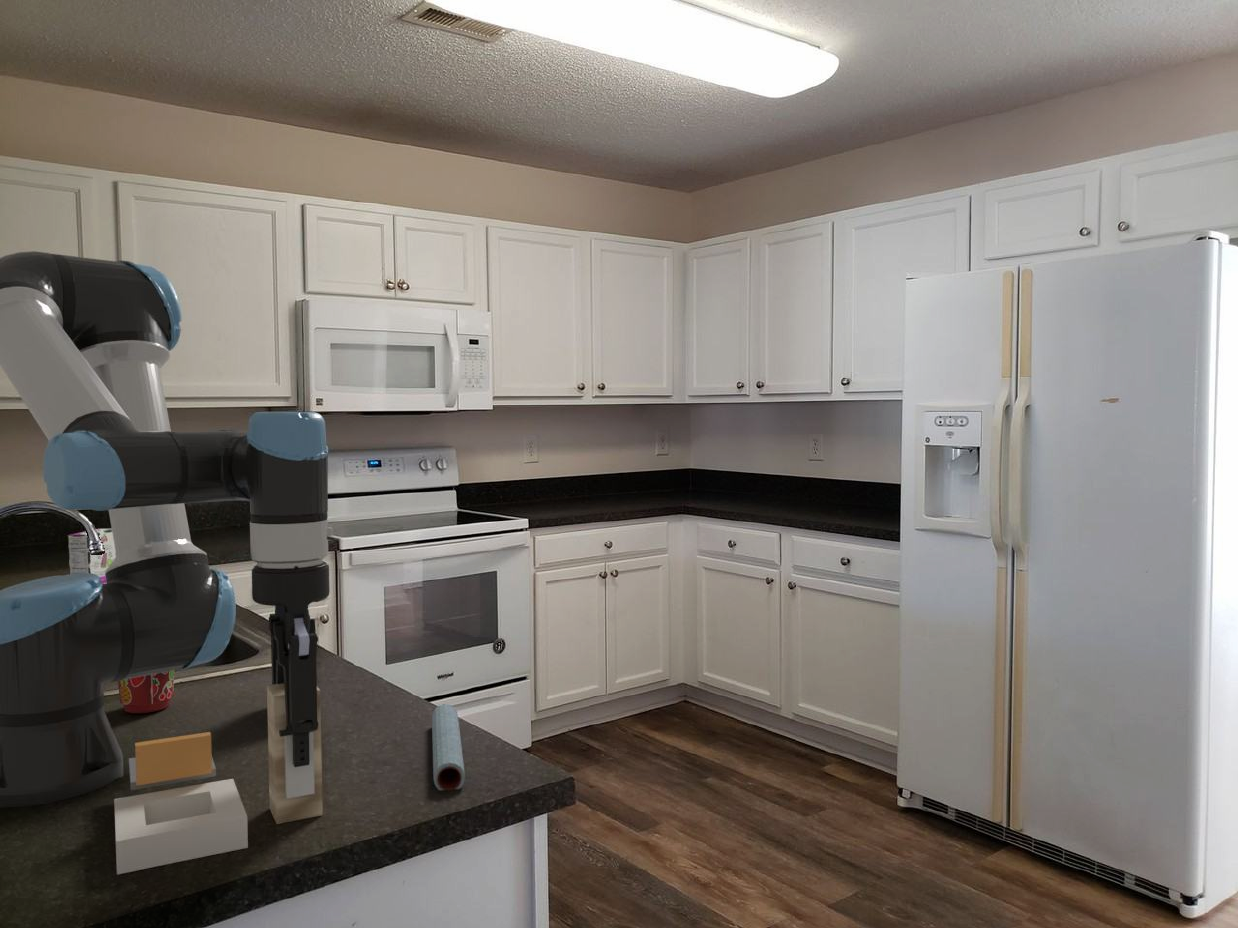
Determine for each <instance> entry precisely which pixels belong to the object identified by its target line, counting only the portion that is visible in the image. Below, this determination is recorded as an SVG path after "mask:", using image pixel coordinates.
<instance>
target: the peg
mask: <svg viewBox="0 0 1238 928" xmlns="http://www.w3.org/2000/svg"><path fill="white" fill-rule="evenodd" d="M266 692H267V693H266V697H267V698H266V699H267V700H266V707H267V743H268V744H267V749H268V750H267V751H268V785H269V786H268V789H269V791H268V793H269V795H268V796H269V810H270V812H271V814H272V817H273V820H274V822H275V824H276V825H279V824H284V823H289V822H295V821H300V820H305V819H309V818H314V817H315V818H316V817H319V816H323V815H324V814H323V811H324V810H323V807H324V806H323V767H322V765H323V763H322V761H323V759H322V722H321V721H322V717H321V716H322V715H321V713H322V712H321V711H322V710H321V709H322V708H321V689H320V688H319V687H318V686H317V721H318V729H317V730H315V731H313V742H314V791H315V794H310V795H304V796H299V797H293V798H288V799H287V798H286V796H285V750H284V736H282V737H280V735H279V730H284V729H286V727H287V724H286V706H285V689H284V683H283V684H274V685H272V684H269V685H266Z"/></svg>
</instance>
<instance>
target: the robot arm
mask: <svg viewBox="0 0 1238 928" xmlns="http://www.w3.org/2000/svg"><path fill="white" fill-rule="evenodd" d="M180 305H181V304H180V300H179V297H178V294H177V292H176V290H175V288H174V286H173V283H171V281H170V279H168V277H167V275H165V274H164V273H162V272H161V271H160V270H159V269H158V268H155V267H153V266H151V265H145V264H138V263H134V262H131V261H129V260H107V259H100V258H99V259H98V258H97V259H96V258H90V257H82V256H75V255H74V256H73V255H65V254H59V253H58V254H57V253H49V252H43V251H34V250H33V251H30V250H29V251H20V252H14V253H11V254H5V255H4V256H1V257H0V368H1V369H2V370H3V372H4V374H5V375H6V377H7V378H8V380H9V381H10V383H11V384H12V386H13V387H14V389H15V390H16V392H17V394H18V395H19V397H20V398H21V400H22V401H23V403H24V405H25V406H26V407H27V409H28V411H29V412H30V414H31V416H32V417H33V418H34V420H35V422H36V423H37V424H38V427H39V428H40V429H41V431H42V433H43V434H44V436H45V437H46V439H47V440H48V442H47V445H46V446H45V447H46V448H45V449H44V454H43V463H42V464H43V465H42V466H43V467H42V470H43V471H42V473H43V480H44V483H45V485H46V493H47V495H48V496H49V497H48V498H49V499H50V500H51V501H52V503H53V504H54V505H55V506H57V507H58V508H61V509H63V510H67V511H81V510H88V511H89V510H92V511H97V512H99V511H100V512H101V511H103V512H104V511H108V514H109V520H110V525H111V526H110V527H111V529H112V533H113V539H114V545H115V551H116V557H115V560H114V561H113V562H112V563H111V564H110V566H109V567H108V568H107V569H106V571H105V576H106V582H107V584H103V583H102V581H101V580H100V578H99V576H97V575H96V574H92V573H73V574H70V573H68V574H64V575H60V574H58V575H53V576H47V577H41V578H36V579H32V580H28V581H24V582H20V583H17V584H14V585H11V586H7V587H5V588H3V589H0V808H19V807H20V808H21V807H30V806H39V805H45V804H49V803H55V802H58V801H65V800H67V799H71V798H75V797H79V796H81V795H85V794H88V793H91V792H94V791H96V790H99V789H100V788H103V787H105V786H107V785H109V784H110V783H112V782H114V781H115V780H116V779H118V778H123V776H124V756H123V752H122V749H121V747H120V745H119V743H118V741H117V738H116V736H115V733H114V730H113V728H112V726H111V723H110V720H109V719H108V716H107V714H106V710H105V693H104V692H105V685H107V684H110V683H116V682H118V681H121V680H126V679H131V678H136V677H141V676H146V675H151V674H156V673H161V672H166V671H172V670H174V671H176V670H178V671H184V670H187V669H190V668H191V667H195V666H198V665H202V664H206V663H209V662H211V661H214V660H216V659H217V658H219V656H221V655H222V654H223V653H224V651H225V649H226V648H227V646H228V645H229V643H230V641H231V637H232V635H233V632H234V627H235V622H236V613H237V612H236V611H237V609H236V608H237V607H236V595H235V590H234V589H235V588H234V586H233V584H232V581H231V580H230V579H229V576H228V575H227V573H225V572H224V571H223V570H220V569H217V568H210V565H209V559H208V554H207V552H206V551H204V550H202V549H201V548H199V547H197V546H196V545H194V544H193V542H192V539H191V533H190V528H189V527H190V526H189V522H188V516H187V511H186V507H185V504H197V503H198V504H199V503H211V502H212V503H213V502H225V501H228V502H229V501H248V502H249V509H250V516H249V517H250V521H249V534H250V536H249V538H250V539H249V540H250V541H249V542H250V543H249V544H250V545H249V546H250V559H251V560H252V561H253V562H254V563H256V565H254V566H253V568H252V569H251V597H252V600H253V602H255V603H256V604H258V605H261V606H268V607H269V606H271V607H275V608H274V613H269V617H268V630H269V633H270V651H271V652H270V653H271V654H270V655H271V658H270V659H271V685H274V684H283V683H284V689H285V706H286V724H287V727H286V729H284V730H279V735H280V737H282V736H284V750H285V796H286V798H287V799H288V798H293V797H299V796H304V795H310V794H315V791H314V742H313V731H315V730H317V729H318V721H317V687H318V683H317V682H318V678H317V677H318V676H317V675H318V674H317V653H318V652H317V650H318V642H319V636H318V634H317V633H316V620H315V618H311V615H310V611H309V605H311V604H312V603H319V602H321V601H322V602H323V601H324V600H326V599H327V598H328V597H329V595H330V592H331V590H330V565H329V564H328V563H327V562H326V561H323V560H324V559H325V558H327V557H328V556H329V540H328V537H332V536H334V532H335V531H334V528H333V527H331V526H328V525H329V524H328V523H329V521H328V516H329V515H328V511H329V502H328V501H329V497H328V495H329V493H328V491H329V490H328V489H329V485H328V484H329V482H328V481H329V480H328V479H329V477H328V476H329V470H328V469H329V468H328V467H329V466H328V464H329V463H328V461H329V458H328V455H329V446H328V445H327V433H326V432H327V431H326V421H325V418H324V417H323V416H322V415H321V414H320V413H318V412H314V411H258V412H257V411H256V412H254V413H253V414H251V416H250V417H249V419H248V427H247V430H239V429H218V430H217V429H216V430H204V431H203V430H198V431H197V430H196V431H195V430H193V431H192V430H191V431H190V430H189V431H187V430H186V431H172V429H171V424H170V418H169V412H168V408H167V403H166V396H165V392H164V387H163V386H164V385H163V381H162V375H161V371H160V370H161V368H162V367H163V366H164V365H165V364H166V363H167V362H168V361H169V359H170V356H171V354H170V351H172V350H173V349H175V348H176V346H177V344H178V343H179V340H180V337H181V331H182V327H181V326H180V322H182V311H181V306H180Z"/></svg>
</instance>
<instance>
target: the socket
mask: <svg viewBox="0 0 1238 928" xmlns="http://www.w3.org/2000/svg"><path fill="white" fill-rule="evenodd" d="M114 827H115V832H114V833H115V853H116V854H115V855H116V856H115V859H116V860H115V861H116V875H121V874H127V873H131V872H136V871H140V870H145V869H150V868H154V867H155V868H156V867H161V866H165V865H166V866H167V865H171V864H174V863H175V864H177V863H179V862H185V861H190V860H194V859H199V858H204V857H208V856H213V855H218V854H225V853H228V852H232V851H233V852H234V851H238V850H242V849H248V848H249V841H248V840H249V838H248V833H249V831H248V830H249V829H248V815H247V812H246V809H245V807H244V804H243V801H242V799H241V796H240V793H239V790H238V789H237V785H236V783H235V780H234V778H229V779H223V780H217V781H211V782H205V783H200V784H194V785H188V786H182V787H176V788H171V789H165V790H157V791H153V792H148V793H141V794H136V795H129V796H124V797H118V798H114Z"/></svg>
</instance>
